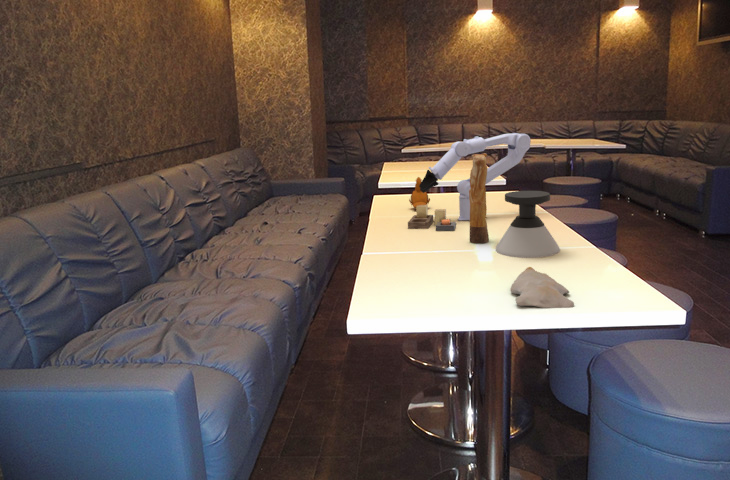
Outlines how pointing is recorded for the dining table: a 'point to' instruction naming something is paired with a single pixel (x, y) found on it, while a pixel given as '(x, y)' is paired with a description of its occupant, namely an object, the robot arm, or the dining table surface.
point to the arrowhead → (539, 291)
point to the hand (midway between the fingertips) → (421, 189)
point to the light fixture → (527, 228)
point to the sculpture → (478, 200)
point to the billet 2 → (440, 215)
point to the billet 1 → (422, 211)
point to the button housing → (445, 226)
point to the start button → (445, 222)
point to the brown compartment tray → (420, 222)
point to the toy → (419, 195)
